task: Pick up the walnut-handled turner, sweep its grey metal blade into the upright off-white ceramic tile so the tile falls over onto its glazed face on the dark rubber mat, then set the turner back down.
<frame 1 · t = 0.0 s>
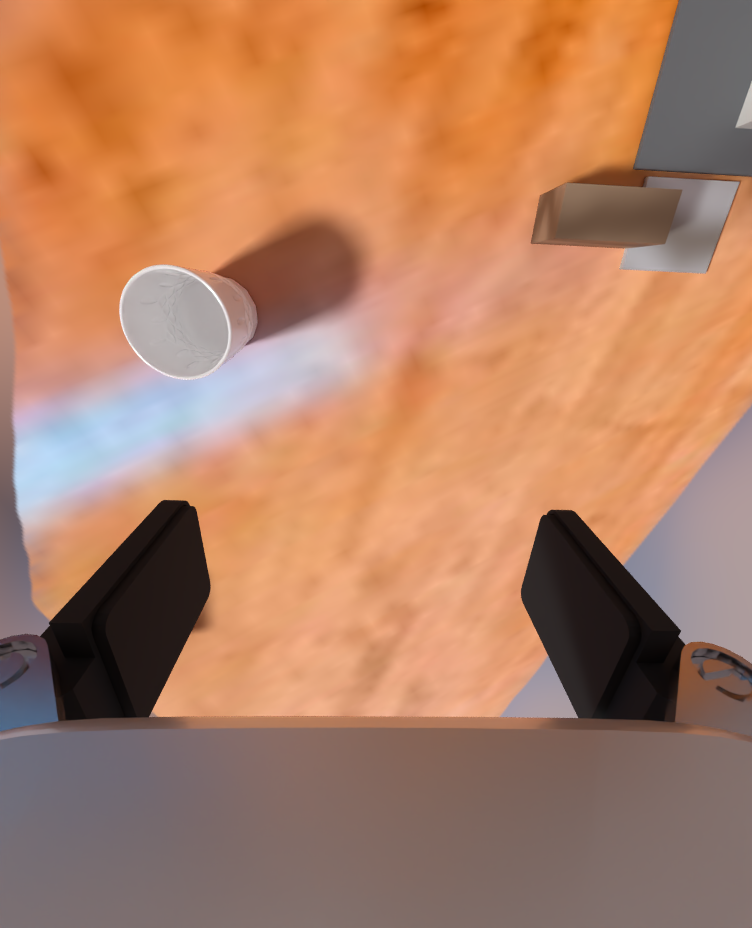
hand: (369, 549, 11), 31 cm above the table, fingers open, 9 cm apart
white cup: (223, 314, 37), on the table
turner: (584, 222, 34), on the table
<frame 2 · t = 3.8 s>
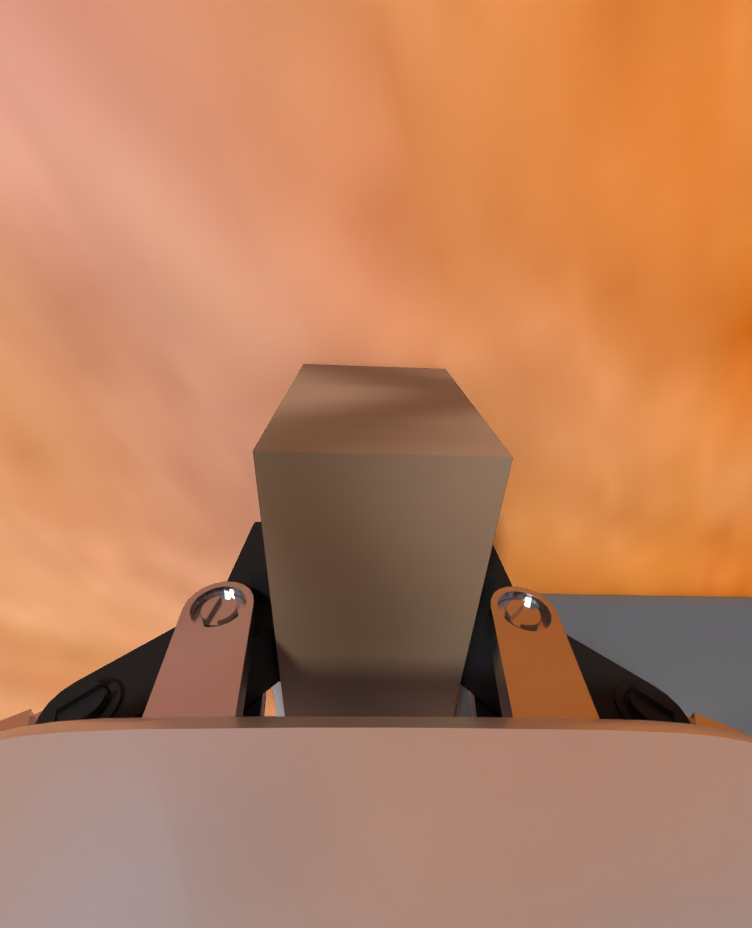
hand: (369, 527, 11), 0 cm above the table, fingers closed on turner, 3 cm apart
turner: (369, 512, 12), on the table, touching gripper
mat: (607, 730, 17), on the table
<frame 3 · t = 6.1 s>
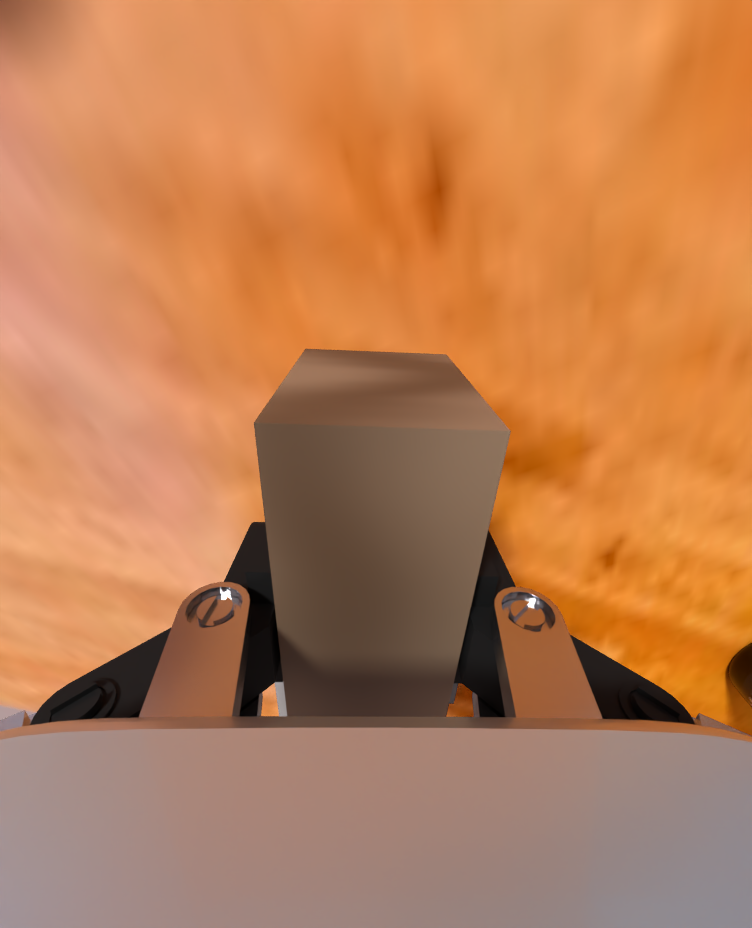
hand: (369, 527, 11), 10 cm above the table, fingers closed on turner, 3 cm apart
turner: (370, 499, 12), point 10 cm above the table, touching gripper
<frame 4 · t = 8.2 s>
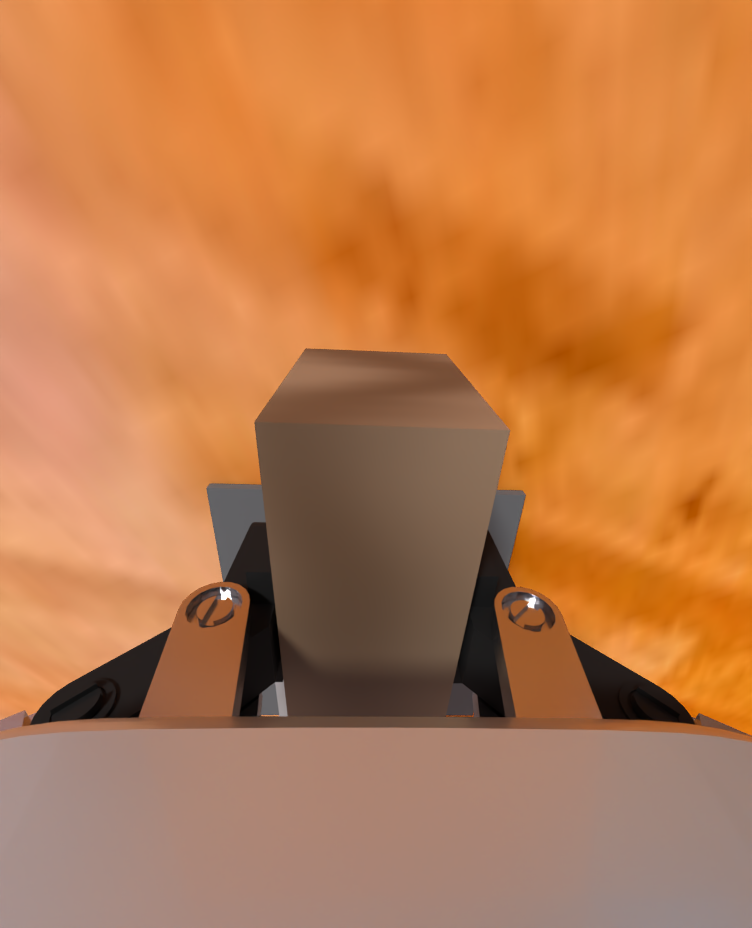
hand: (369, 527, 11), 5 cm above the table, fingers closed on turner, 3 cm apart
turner: (370, 499, 12), point 5 cm above the table, touching gripper
mat: (364, 616, 21), on the table
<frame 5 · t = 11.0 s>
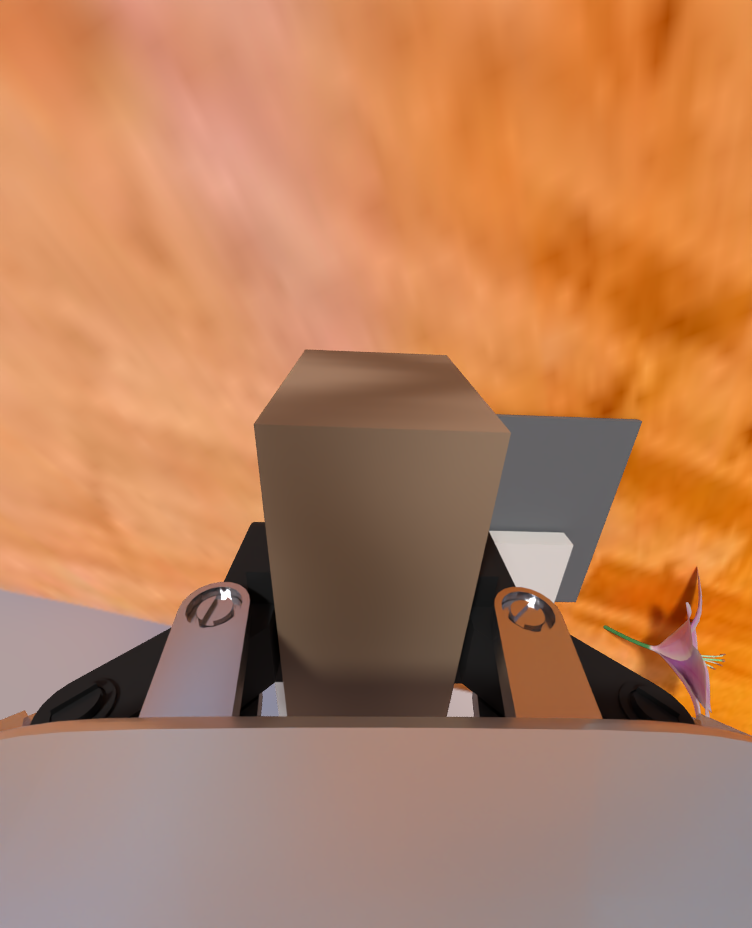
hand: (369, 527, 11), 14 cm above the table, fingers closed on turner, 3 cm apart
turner: (370, 500, 12), point 14 cm above the table, touching gripper
lily: (651, 609, 34), on the table
mat: (510, 517, 29), on the table
tile: (514, 537, 28), point 1 cm above the table, tilted 90°, touching mat
when the fingers open (2 cm above the table, at t = 13.6 s): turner stays where it is, on the table.
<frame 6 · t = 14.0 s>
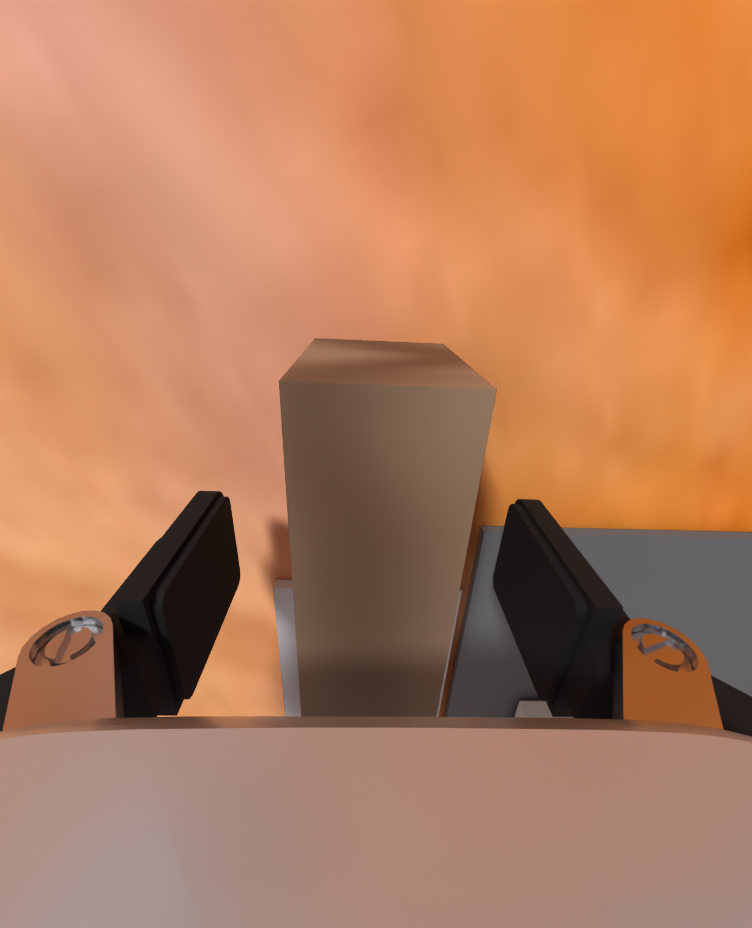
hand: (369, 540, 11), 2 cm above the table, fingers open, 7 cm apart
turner: (373, 481, 13), on the table
mat: (605, 676, 17), on the table
tile: (617, 718, 16), point 1 cm above the table, tilted 90°, touching mat
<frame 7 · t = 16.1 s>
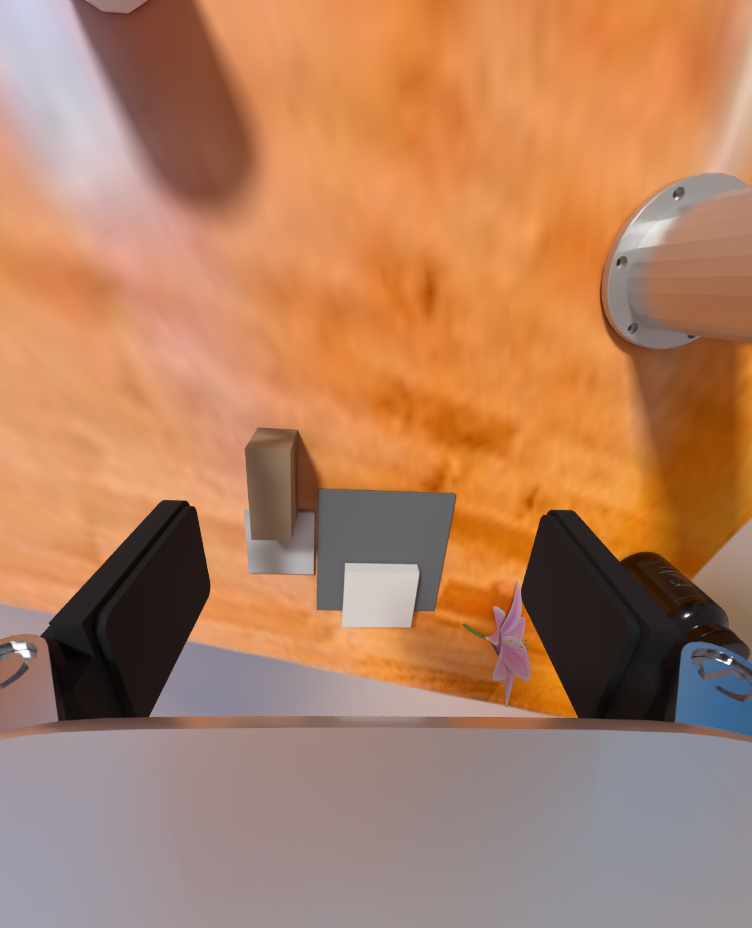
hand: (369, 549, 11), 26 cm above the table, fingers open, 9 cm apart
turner: (279, 471, 37), on the table
lily: (494, 611, 48), on the table
supplement bottle: (634, 571, 46), on the table
mat: (381, 554, 42), on the table
tile: (381, 568, 42), point 1 cm above the table, tilted 90°, touching mat
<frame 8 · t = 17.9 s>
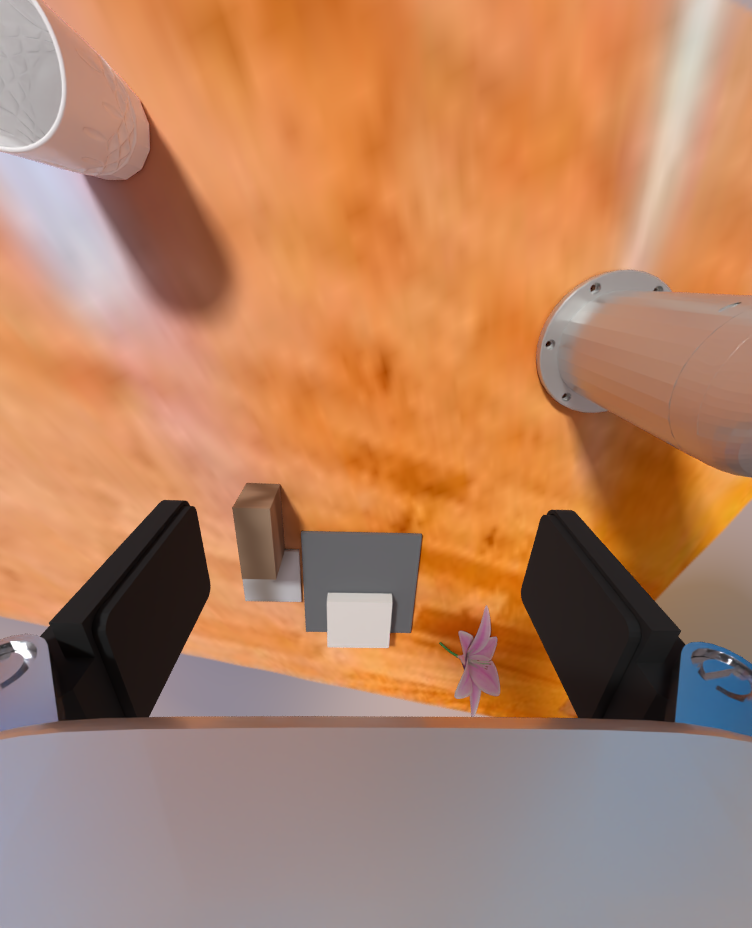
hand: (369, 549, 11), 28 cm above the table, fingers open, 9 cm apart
white cup: (105, 126, 28), on the table
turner: (266, 517, 44), on the table
lily: (467, 631, 53), on the table
mat: (360, 584, 48), on the table
tile: (359, 597, 47), point 1 cm above the table, tilted 90°, touching mat
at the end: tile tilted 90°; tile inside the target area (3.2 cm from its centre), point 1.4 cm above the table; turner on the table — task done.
